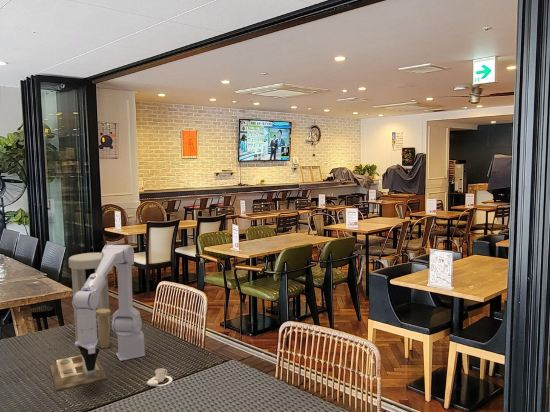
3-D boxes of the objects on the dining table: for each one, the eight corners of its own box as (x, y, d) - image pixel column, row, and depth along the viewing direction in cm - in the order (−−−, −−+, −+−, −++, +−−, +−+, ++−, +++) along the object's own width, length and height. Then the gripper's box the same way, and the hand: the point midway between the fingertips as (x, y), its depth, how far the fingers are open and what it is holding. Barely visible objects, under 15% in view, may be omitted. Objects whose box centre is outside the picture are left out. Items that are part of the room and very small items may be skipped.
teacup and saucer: (149, 390, 158) (148, 378, 158) (143, 380, 165) (143, 369, 165) (175, 384, 162) (174, 372, 162) (169, 375, 169) (168, 363, 169)
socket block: (96, 357, 185) (95, 349, 184) (107, 379, 166) (106, 370, 165) (49, 366, 177) (49, 358, 177) (56, 391, 158) (55, 381, 158)
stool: (80, 331, 214) (75, 253, 211) (116, 329, 216) (112, 251, 212) (69, 344, 199) (63, 260, 195) (108, 342, 200) (103, 258, 197)
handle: (104, 350, 191) (102, 313, 190) (95, 347, 195) (93, 310, 194) (115, 346, 195) (113, 310, 194) (105, 343, 199) (103, 307, 197)
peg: (95, 371, 162) (94, 351, 161) (97, 376, 158) (96, 355, 158) (82, 374, 160) (81, 354, 159) (84, 379, 156) (83, 358, 156)
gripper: (71, 323, 162) (73, 362, 163) (77, 336, 149) (79, 379, 150) (93, 319, 165) (95, 357, 166) (101, 332, 153) (103, 373, 154)
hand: (89, 367), depth 159 cm, fingers closed on peg, 4 cm apart
